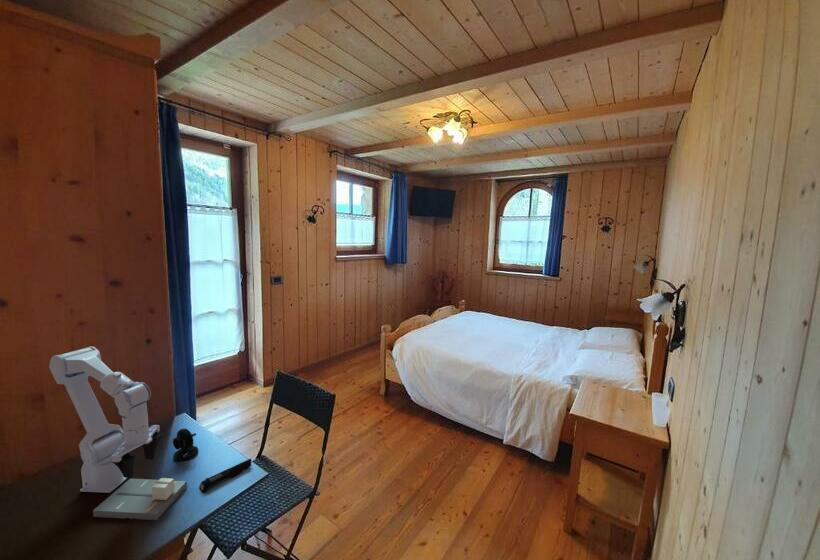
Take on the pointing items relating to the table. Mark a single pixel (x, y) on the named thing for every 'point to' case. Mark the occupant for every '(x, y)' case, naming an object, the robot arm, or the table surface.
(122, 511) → the console
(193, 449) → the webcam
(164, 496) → the fader
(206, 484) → the electric trimmer
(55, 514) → the table surface
